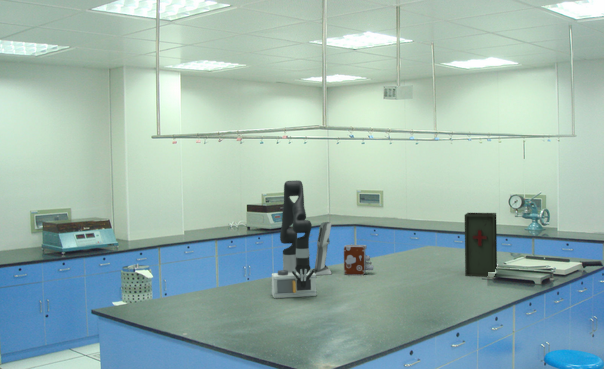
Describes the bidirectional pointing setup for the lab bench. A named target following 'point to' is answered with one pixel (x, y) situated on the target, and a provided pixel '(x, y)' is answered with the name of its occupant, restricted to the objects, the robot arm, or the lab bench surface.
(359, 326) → the lab bench surface
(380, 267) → the lab bench surface
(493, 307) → the lab bench surface
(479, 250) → the first aid box
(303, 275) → the robot arm
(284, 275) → the camera housing
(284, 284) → the side door
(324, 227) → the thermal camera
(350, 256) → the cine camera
